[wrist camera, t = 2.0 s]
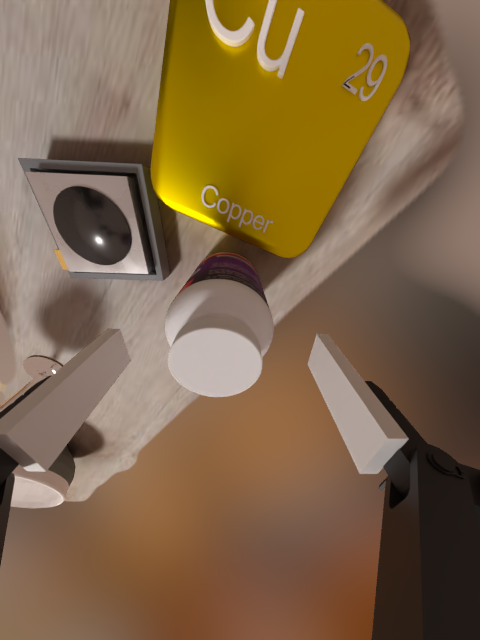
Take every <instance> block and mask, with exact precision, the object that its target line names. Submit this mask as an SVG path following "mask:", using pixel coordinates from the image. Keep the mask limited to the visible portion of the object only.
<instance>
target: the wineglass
mask: <svg viewBox="0 0 480 640" xmlns="http://www.w3.org/2000/svg"><path fill="white" fill-rule="evenodd" d="M23 365H24V369H25V370H26V372H27V373H28V374H29V375H30V376H32V377H33V378H34V379H32V380H31V381H30V382H29V383H28V384H26V385H25V386H24V387H23V388H21V389H20V390H19V391H18V392H17V393H15V394H14V395H13V396H12V397H10V398H9V399H8V400H6V401H5V402H4V403H3V404H1V405H0V412H1V411H2V410H4V409H5V408H6V407H7V406H9V405H10V404H11V403H14V401H15V400H16V399H17V398H19V397H20V396H21V395H23V394H24V393H25V392H26V391H27V390H28V389H30V388H31V387H32V386H33V385H35V384H36V383H38V382H39V381H41V380H43V379H45V378H46V377H48V376H52V375H53V374H54V373H56V372H57V371H58V370H59V369H60V368H62V367H63V366H61V365H60V364H59V363H57V362H55V361H53V360H51V359H49V358H45V357H40V356H34V357H30V358H28V359H26V360H25V361H24V364H23Z"/></svg>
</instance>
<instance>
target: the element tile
mask: <svg viewBox="0 0 480 640" xmlns="http://www.w3.org/2000/svg"><path fill="white" fill-rule="evenodd" d="M409 56H410V36H409V32H408V29H407V26H406V23H405V22H404V20H403V19H402V17H401V16H400V15H399V14H398V13H397V12H396V11H394V10H393V9H392V8H391V7H390V6H389V5H388V4H386V3H385V2H384V1H383V0H170V6H169V14H168V23H167V31H166V40H165V48H164V57H163V65H162V74H161V82H160V91H159V99H158V108H157V116H156V125H155V133H154V142H153V150H152V159H151V167H150V170H151V181H152V185H153V189H154V191H155V193H156V194H157V196H158V198H159V199H160V200H161V201H162V202H163V203H164V204H165V205H166V206H168V207H169V208H171V209H173V210H175V211H177V212H179V213H182V214H184V215H186V216H188V217H191V218H193V219H195V220H198V221H200V222H202V223H204V224H207V225H209V226H211V227H214V228H216V229H218V230H220V231H223V232H225V233H227V234H230V235H232V236H234V237H236V238H239V239H241V240H243V241H245V242H248V243H250V244H252V245H255V246H257V247H259V248H261V249H264V250H266V251H268V252H271V253H273V254H275V255H277V256H280V257H284V258H294V257H297V256H299V255H301V254H302V253H303V252H304V251H305V250H306V249H307V248H308V247H309V246H310V244H311V243H312V241H313V239H314V237H315V235H316V234H317V232H318V230H319V228H320V227H321V225H322V223H323V221H324V219H325V218H326V216H327V214H328V212H329V210H330V209H331V207H332V205H333V203H334V201H335V200H336V198H337V196H338V194H339V192H340V191H341V189H342V187H343V185H344V184H345V182H346V180H347V178H348V176H349V175H350V173H351V171H352V169H353V167H354V166H355V164H356V162H357V160H358V158H359V157H360V155H361V153H362V151H363V149H364V148H365V146H366V144H367V142H368V141H369V139H370V137H371V135H372V133H373V132H374V130H375V128H376V126H377V124H378V123H379V121H380V119H381V117H382V115H383V114H384V112H385V110H386V108H387V106H388V105H389V103H390V101H391V99H392V98H393V96H394V94H395V92H396V90H397V89H398V87H399V85H400V83H401V81H402V78H403V76H404V73H405V70H406V66H407V63H408V59H409Z"/></svg>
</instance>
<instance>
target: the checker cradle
mask: <svg viewBox="0 0 480 640" xmlns="http://www.w3.org/2000/svg"><path fill="white" fill-rule="evenodd" d="M18 160H19V162H20V164H21V166H22V169H23V171H24V173H25V172H42V173H63V174H85V175H106V176H127V177H130V178H132V179H135V180H138V184H139V189H140V194H141V199H142V204H143V209H144V214H145V219H146V224H147V229H148V234H149V239H150V244H151V249H152V254H153V259H154V264H155V270H154V271H152V272H151V273H149V274H132V273H101V272H69V270H68V267H67V265H66V263H65V261H64V258H63V256H62V254H61V252H60V249H59V247H58V245H57V243H56V245H57V247H58V249H55V250H54V251H55V253H56V255H57V257H58V259H59V262H60V264H61V266H62V268H63V270H68V272H69V274H70V276H71V278H92V279H125V280H158V281H163V280H165V279H166V278H167V277H168V276H169V275H170V270H169V264H168V258H167V252H166V245H165V239H164V233H163V227H162V221H161V215H160V208H159V202H158V196H157V194H156V193H155V191H154V189H153V185H152V181H151V170H150V168H148V167H146V166H144V165H143V164H130V163H110V162H89V161H68V160H48V159H27V158H18ZM25 175H26V173H25ZM26 177H27V175H26ZM27 180H28V177H27ZM28 182H29V180H28ZM29 184H30V182H29ZM30 186H31V184H30ZM31 189H32V186H31ZM32 191H33V189H32ZM33 193H34V191H33ZM34 195H35V193H34ZM35 198H36V195H35ZM36 200H37V198H36ZM37 202H38V200H37ZM38 204H39V202H38ZM39 207H40V204H39ZM40 209H41V207H40ZM41 211H42V209H41ZM42 213H43V211H42ZM43 216H44V213H43ZM44 218H45V216H44ZM45 220H46V218H45ZM46 222H47V220H46ZM47 225H48V222H47ZM48 227H49V225H48ZM49 229H50V227H49ZM50 231H51V229H50ZM51 234H52V231H51ZM52 236H53V234H52ZM53 238H54V236H53ZM54 240H55V238H54ZM55 242H56V240H55Z"/></svg>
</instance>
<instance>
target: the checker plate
mask: <svg viewBox="0 0 480 640" xmlns="http://www.w3.org/2000/svg"><path fill="white" fill-rule="evenodd" d="M25 173H26V175H27V177H28V180H29V182H30V184H31V186H32V189H33V191H34V193H35V195H36V198H37V200H38V202H39V204H40V207H41V209H42V211H43V213H44V216H45V218H46V220H47V222H48V225H49V227H50V229H51V231H52V234H53V236H54V238H55V240H56V243H57V245H58V247H59V249H60V252H61V254H62V256H63V258H64V261H65V263H66V265H67V267H68V270H69V272H101V273H132V274H149V273H151V272H152V271H154V270H155V264H154V259H153V254H152V249H151V244H150V239H149V234H148V229H147V224H146V219H145V214H144V209H143V204H142V199H141V194H140V189H139V184H138V180H135V179H132V178H130V177H127V176H106V175H85V174H63V173H42V172H25Z"/></svg>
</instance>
